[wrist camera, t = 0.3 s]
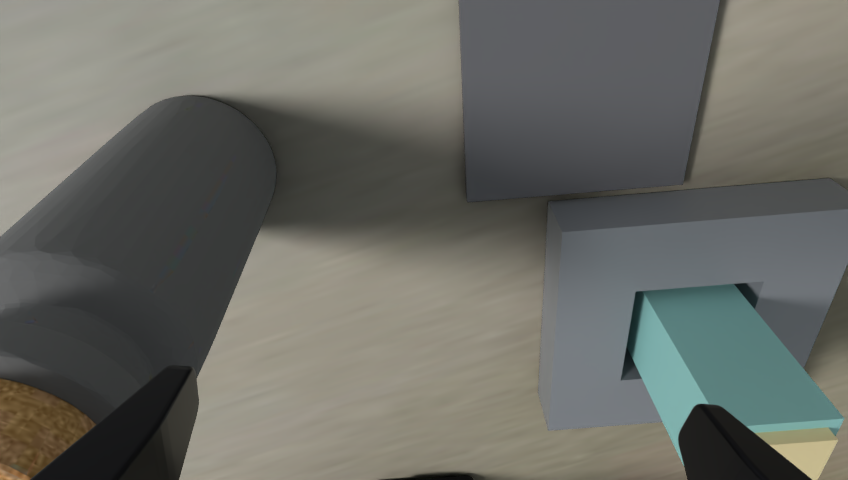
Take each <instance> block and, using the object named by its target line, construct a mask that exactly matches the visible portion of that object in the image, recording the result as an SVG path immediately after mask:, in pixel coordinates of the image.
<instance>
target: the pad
mask: <svg viewBox="0 0 848 480" xmlns="http://www.w3.org/2000/svg"><path fill="white" fill-rule="evenodd" d="M719 3H720V0H459V20H460V46H461V71H462V97H463V122H464V148H465V173H466V198H467V202H477V201H489V200H501V199H514V198H526V197H538V196H550V195H562V194H574V193H586V192H598V191H611V190H623V189H635V188H647V187H659V186H671V185H683V181H684V176H685V172H686V167H687V162H688V157H689V152H690V147H691V142H692V137H693V132H694V127H695V122H696V117H697V112H698V107H699V102H700V97H701V92H702V87H703V82H704V77H705V72H706V67H707V62H708V57H709V52H710V47H711V42H712V37H713V32H714V27H715V22H716V18H717V13H718V8H719Z"/></svg>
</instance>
